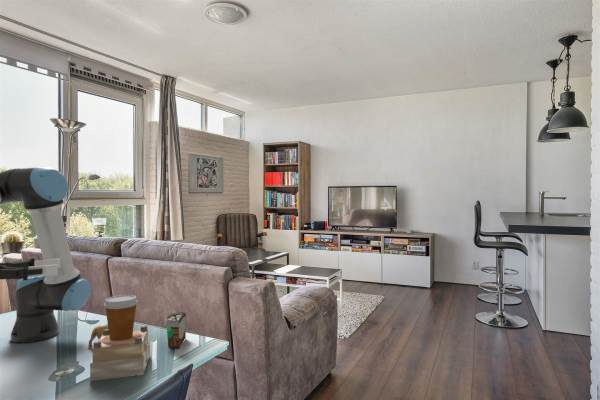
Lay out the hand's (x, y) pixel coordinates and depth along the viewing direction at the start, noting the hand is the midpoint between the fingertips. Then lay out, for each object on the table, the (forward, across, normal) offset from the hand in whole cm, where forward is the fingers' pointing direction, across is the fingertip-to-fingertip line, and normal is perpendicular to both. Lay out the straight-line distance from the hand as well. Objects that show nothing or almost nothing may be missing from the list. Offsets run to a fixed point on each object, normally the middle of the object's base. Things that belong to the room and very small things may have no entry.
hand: (59, 266), depth 109 cm
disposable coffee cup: (+16, +4, -23) cm, 28 cm away
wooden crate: (+16, +4, -32) cm, 36 cm away
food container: (+34, -8, -32) cm, 48 cm away
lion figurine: (+13, -24, -32) cm, 42 cm away
